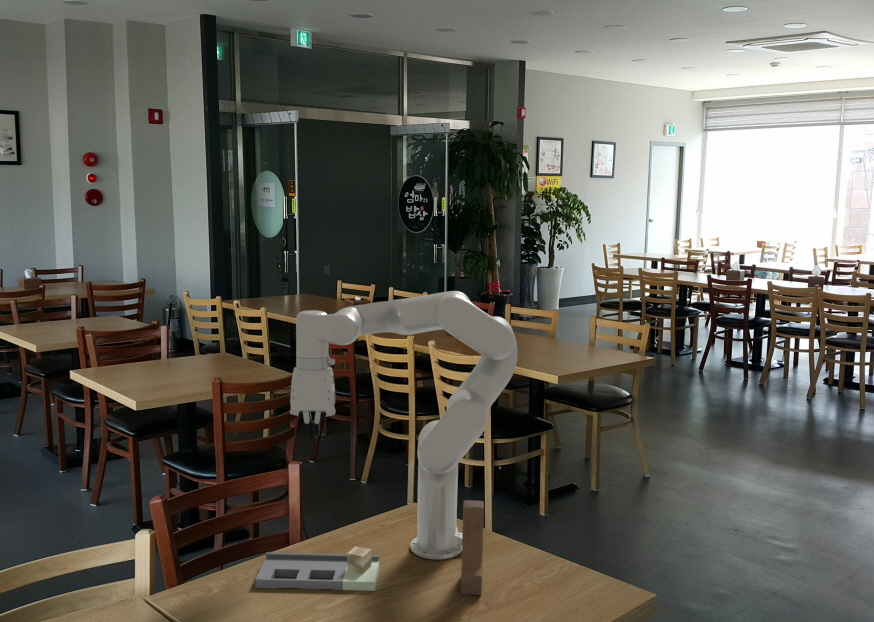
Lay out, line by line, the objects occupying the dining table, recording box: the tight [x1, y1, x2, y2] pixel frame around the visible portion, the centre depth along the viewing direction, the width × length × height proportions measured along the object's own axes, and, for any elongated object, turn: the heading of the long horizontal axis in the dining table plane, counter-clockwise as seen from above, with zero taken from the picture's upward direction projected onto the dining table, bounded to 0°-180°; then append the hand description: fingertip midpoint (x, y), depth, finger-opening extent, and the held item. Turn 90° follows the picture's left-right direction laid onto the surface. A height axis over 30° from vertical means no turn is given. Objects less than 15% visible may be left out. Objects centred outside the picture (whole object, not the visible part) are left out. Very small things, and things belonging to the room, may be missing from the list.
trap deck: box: [254, 552, 380, 592], centre depth 178 cm, size 26×11×3 cm, turn 89°
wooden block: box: [460, 499, 485, 596], centre depth 175 cm, size 9×4×18 cm, turn 177°
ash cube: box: [346, 545, 373, 574], centre depth 178 cm, size 4×4×4 cm
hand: (312, 438), depth 190 cm, fingers closed
